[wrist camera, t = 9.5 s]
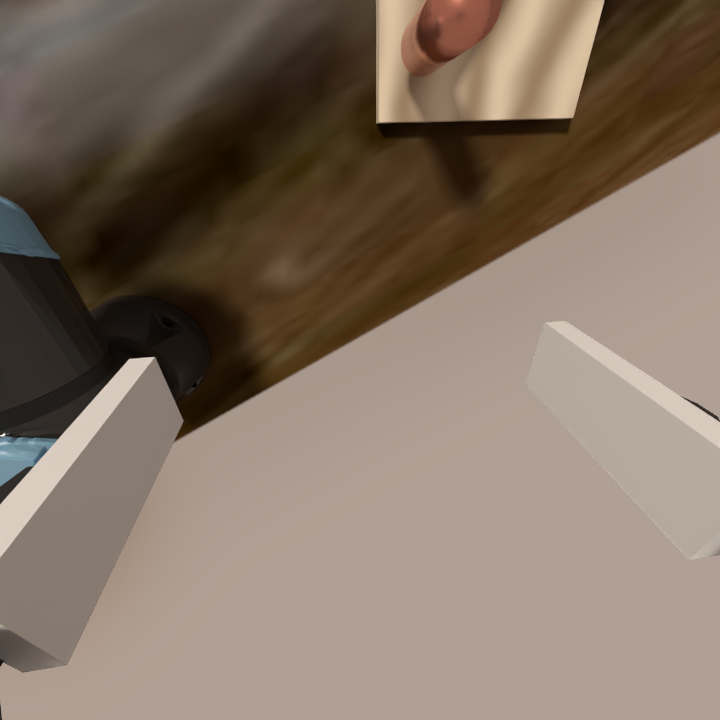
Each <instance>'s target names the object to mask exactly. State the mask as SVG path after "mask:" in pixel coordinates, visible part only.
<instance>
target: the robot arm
mask: <svg viewBox="0 0 720 720" xmlns="http://www.w3.org/2000/svg"><path fill="white" fill-rule="evenodd" d="M58 259H60V257H59V255H58V254H57V253H56V252H54V251H52V249H51V248H50V247H49V245H48V244H47V242H46V241H45V240H44V238H43V237H42V235H41V234H40V232H39V231H38V229H37V228H36V226H35V225H34V223H33V222H32V220H31V219H30V217H29V216H28V215H27V213H26V212H25V211H24V210H23V209H22V208H21V207H19V206H18V205H17V204H15V203H13V202H12V201H10V200H8V199H6V198H4V197H2V196H0V666H1V665H2V663H3V662H4V663H6V664H7V665H10V666H11V667H13V668H15V669H17V670H19V671H21V672H29V671H35V670H41V669H47V668H53V667H59V666H65V665H67V664H68V662H69V660H70V658H71V655H72V654H73V651H74V650H75V648H76V645H77V643H78V641H79V639H80V637H81V635H82V633H83V631H84V629H85V627H86V625H87V622H88V620H89V618H90V616H91V614H92V612H93V610H94V607H95V606H96V604H97V601H98V599H99V597H100V595H101V593H102V591H103V589H104V587H105V585H106V583H107V581H108V578H109V576H110V574H111V572H112V570H113V568H114V566H115V563H116V562H117V559H118V557H119V555H120V553H121V551H122V549H123V547H124V545H125V543H126V541H127V538H128V536H129V534H130V532H131V530H132V528H133V526H134V524H135V522H136V519H137V517H138V516H139V513H140V511H141V509H142V507H143V505H144V503H145V501H146V499H147V497H148V495H149V492H150V490H151V488H152V486H153V484H154V482H155V480H156V478H157V476H158V474H159V472H160V469H161V467H162V465H163V463H164V461H165V459H166V457H167V455H168V453H169V450H170V448H171V446H172V444H173V442H174V440H175V438H176V436H177V434H178V432H179V430H180V428H181V425H182V423H183V419H182V416H181V414H180V412H179V410H178V407H177V405H176V403H177V402H179V401H180V400H181V399H183V398H184V397H185V396H186V395H188V394H189V393H191V392H192V391H193V390H194V389H195V388H196V387H197V386H198V385H199V384H200V383H201V381H202V380H203V378H204V376H205V374H206V372H207V370H208V367H209V364H210V347H209V344H208V341H207V339H206V337H205V335H204V333H203V331H202V330H201V329H200V327H199V326H198V325H197V324H196V323H195V322H194V321H193V320H192V319H191V318H190V317H189V316H188V315H187V314H185V313H184V312H183V311H181V310H179V309H178V308H176V307H174V306H172V305H170V304H168V303H166V302H163V301H161V300H158V299H154V298H150V297H145V296H121V297H116V298H112V299H110V300H107V301H105V302H103V303H101V304H100V305H99V306H97V307H96V308H94V309H93V310H92V311H90V312H89V310H88V309H87V307H86V305H85V304H84V302H83V300H82V299H81V297H80V295H79V293H78V292H77V290H76V288H75V287H74V285H73V283H72V282H71V280H70V278H69V277H68V275H67V273H66V271H65V270H64V268H63V266H62V265H61V263H60V261H59V260H58ZM526 386H527V387H528V388H529V389H530V390H531V392H532V393H533V394H534V395H535V396H536V397H537V398H538V399H539V400H540V401H541V402H542V403H543V404H544V405H545V407H546V408H547V409H548V410H549V411H550V412H551V413H552V414H553V415H554V416H555V417H556V418H557V419H558V420H559V422H560V423H561V424H562V425H563V426H564V427H565V428H566V429H567V430H568V431H569V432H570V433H571V434H572V436H573V437H574V438H575V439H576V440H577V441H578V442H579V443H580V444H581V445H582V446H583V447H584V448H585V449H586V450H587V452H588V453H589V454H590V455H591V456H592V457H593V458H594V459H595V460H596V461H597V462H598V463H599V464H600V466H601V467H602V468H603V469H604V470H605V471H606V472H607V473H608V474H609V475H610V476H611V477H612V478H613V479H614V481H615V482H616V483H617V484H618V485H619V486H620V487H621V488H622V489H623V490H624V491H625V492H626V493H627V495H629V497H630V498H631V499H632V500H633V501H634V502H635V503H636V504H637V505H638V506H639V507H640V508H641V510H642V511H643V512H644V513H645V514H646V515H647V516H648V517H649V518H650V519H651V520H652V521H653V522H654V523H655V525H656V526H657V527H658V528H659V529H660V530H661V531H662V532H663V533H664V534H665V535H666V536H667V537H668V538H669V540H670V541H671V542H672V543H673V544H674V545H675V546H676V547H677V548H678V549H679V550H680V551H681V552H682V554H684V555H685V557H686V558H687V559H688V560H693V559H699V558H705V557H711V556H717V555H719V554H720V420H719V419H718V417H717V416H716V415H714V414H713V413H711V412H709V411H708V410H706V409H705V408H703V407H702V406H700V405H699V404H697V403H695V402H692V401H690V400H688V399H686V398H684V397H681V396H679V395H677V394H676V393H675V392H673V391H672V390H670V389H668V388H667V387H665V386H664V385H662V384H661V383H659V382H658V381H656V380H655V379H653V378H652V377H650V376H649V375H647V374H645V373H644V372H642V371H641V370H639V369H638V368H636V367H635V366H633V365H632V364H630V363H628V362H627V361H626V360H624V359H623V358H621V357H620V356H618V355H616V354H615V353H613V352H612V351H610V350H609V349H607V348H606V347H604V346H603V345H601V344H600V343H598V342H597V341H595V340H594V339H592V338H590V337H589V336H587V335H586V334H584V333H583V332H581V331H580V330H578V329H577V328H575V327H574V326H572V325H571V324H569V323H567V322H566V321H560V322H549V323H545V324H544V328H543V331H542V334H541V337H540V340H539V343H538V346H537V350H536V353H535V356H534V359H533V362H532V365H531V369H530V372H529V375H528V378H527V381H526ZM0 720H2V717H1V707H0Z"/></svg>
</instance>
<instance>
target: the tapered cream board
mask: <svg viewBox="0 0 720 720" xmlns="http://www.w3.org/2000/svg"><path fill="white" fill-rule="evenodd" d="M425 1H426V0H376V124H379V123H421V122H463V121H504V120H546V119H568V118H573V116H574V112H575V109H576V105H577V101H578V97H579V94H580V90H581V86H582V83H583V79H584V75H585V71H586V68H587V64H588V60H589V56H590V53H591V49H592V45H593V41H594V38H595V34H596V30H597V26H598V23H599V19H600V15H601V11H602V8H603V4H604V0H503V3H502V7H501V11H500V14H499V17H498V19H497V22H496V23H495V25H494V27H493V29H492V30H491V31H490V33H489V34H488V35H487V36H486V37H485V38H484V39H483V40H481V41H480V42H478V43H477V44H475V45H474V46H472V47H471V48H469V49H468V50H466V51H465V52H463V53H462V54H460V55H459V56H458V57H456V58H455V59H453V60H452V61H450V62H449V63H447V64H446V65H444V66H443V67H441V68H440V69H438V70H437V71H435V72H434V73H432V74H430V75H429V76H426V77H417V76H414V75H412V74H411V73H410V72H409V71H408V70H407V69H406V67H405V65H404V63H403V60H402V56H401V40H402V36H403V33H404V30H405V28H406V26H407V25H408V24H409V22H410V21H411V19H412V18H413V17H414V15H415V14H416V13H417V11H418V10H419V9H420V7H421V6H422V5H423V3H424V2H425Z"/></svg>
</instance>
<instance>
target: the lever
mask: <svg viewBox="0 0 720 720" xmlns="http://www.w3.org/2000/svg"><path fill="white" fill-rule="evenodd" d="M502 3H503V0H426V1H425V2H424V3H423V5H422V6H421V7H420V9H419V10H418V11H417V13H416V14H415V15H414V17H413V18H412V19H411V21H410V22H409V24H408V25H407V26H406V28H405V30H404V33H403V36H402V40H401V56H402V60H403V63H404V65H405V67H406V69H407V70H408V71H409V72H410V73H411V74H412V75H414V76H417V77H426V76H429V75H430V74H432V73H434V72H435V71H437V70H438V69H440V68H441V67H443V66H444V65H446V64H447V63H449V62H450V61H452V60H453V59H455V58H456V57H458V56H459V55H460V54H462V53H463V52H465V51H466V50H468V49H469V48H471V47H472V46H474V45H475V44H477V43H478V42H480V41H481V40H483V39H484V38H485V37H486V36H487V35H488V34H489V33H490V31H491V30H492V29H493V27H494V25H495V23H496V22H497V19H498V17H499V14H500V11H501V7H502Z"/></svg>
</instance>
